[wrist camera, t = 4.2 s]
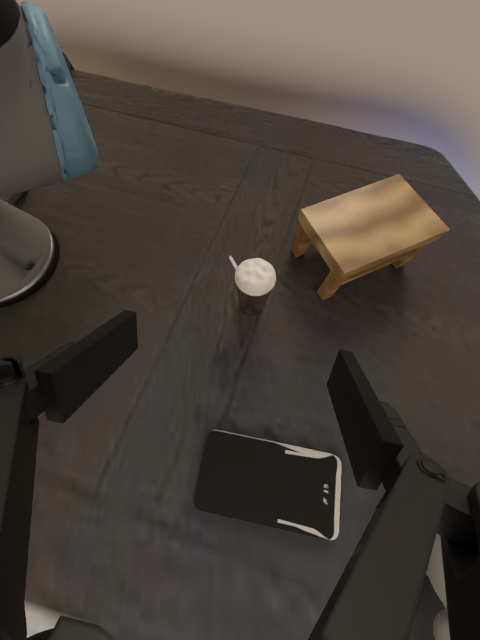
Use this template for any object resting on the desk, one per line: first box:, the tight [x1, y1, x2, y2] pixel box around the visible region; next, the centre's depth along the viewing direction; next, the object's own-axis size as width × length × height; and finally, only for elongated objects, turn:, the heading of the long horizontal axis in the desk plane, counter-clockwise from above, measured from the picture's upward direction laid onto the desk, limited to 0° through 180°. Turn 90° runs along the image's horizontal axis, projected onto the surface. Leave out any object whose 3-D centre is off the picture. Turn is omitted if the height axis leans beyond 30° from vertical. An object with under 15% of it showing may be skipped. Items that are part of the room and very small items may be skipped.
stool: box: [291, 174, 450, 300], centre depth 34 cm, size 10×15×8 cm, turn 114°
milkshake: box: [229, 255, 276, 316], centre depth 30 cm, size 4×5×10 cm
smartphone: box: [194, 430, 341, 540], centre depth 27 cm, size 8×1×15 cm
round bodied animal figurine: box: [426, 534, 450, 640], centre depth 21 cm, size 7×12×8 cm, turn 152°
